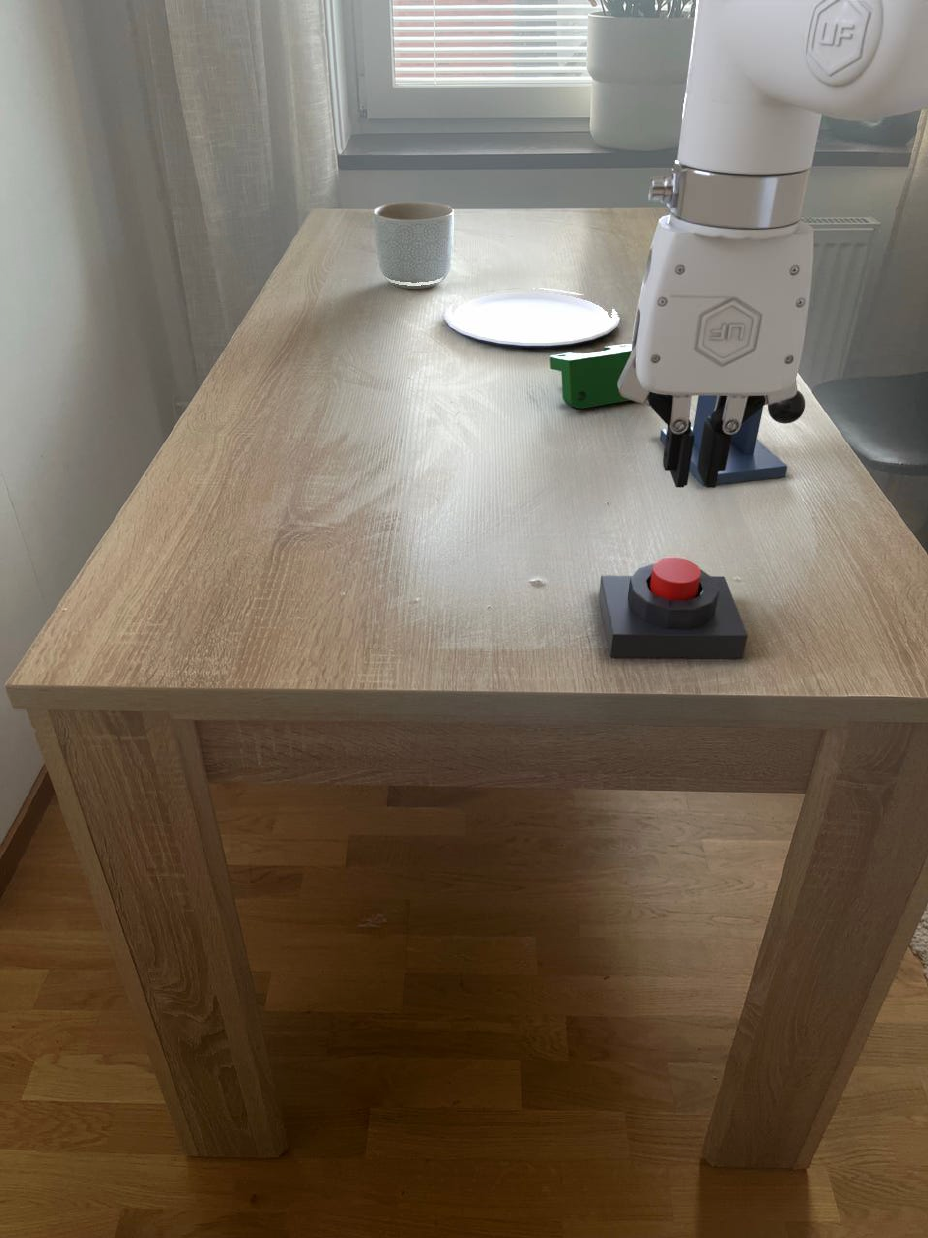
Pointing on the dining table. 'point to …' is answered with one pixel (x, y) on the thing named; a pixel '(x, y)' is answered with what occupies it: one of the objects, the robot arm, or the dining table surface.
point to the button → (675, 579)
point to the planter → (414, 241)
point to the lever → (788, 409)
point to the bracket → (735, 449)
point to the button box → (670, 619)
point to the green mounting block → (592, 375)
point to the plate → (531, 319)
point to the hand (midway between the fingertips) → (691, 477)
